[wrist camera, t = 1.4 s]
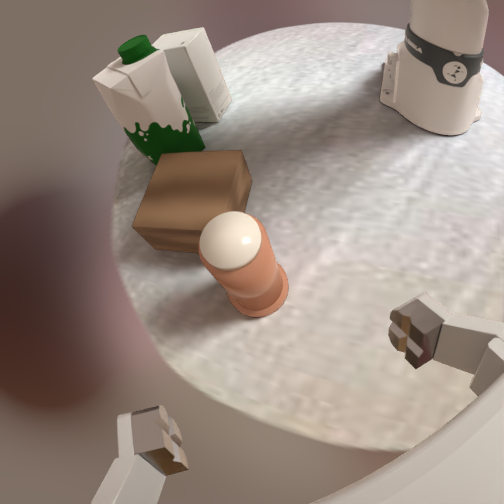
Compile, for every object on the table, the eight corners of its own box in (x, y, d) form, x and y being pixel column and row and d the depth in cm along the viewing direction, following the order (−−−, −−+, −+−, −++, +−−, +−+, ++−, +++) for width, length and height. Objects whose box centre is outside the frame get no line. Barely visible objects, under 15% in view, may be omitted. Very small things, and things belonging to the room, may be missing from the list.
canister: (236, 258, 36) (200, 200, 26) (292, 263, 35) (278, 203, 24) (224, 313, 34) (179, 273, 23) (283, 321, 32) (263, 283, 22)
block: (179, 180, 44) (161, 153, 38) (252, 180, 41) (241, 150, 36) (155, 249, 39) (131, 226, 34) (234, 256, 37) (219, 231, 31)
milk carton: (213, 146, 45) (163, 35, 28) (168, 185, 44) (98, 79, 26) (182, 127, 49) (133, 31, 32) (141, 161, 48) (78, 70, 30)
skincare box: (233, 100, 50) (207, 25, 36) (217, 125, 48) (185, 46, 34) (193, 100, 53) (163, 32, 39) (176, 123, 50) (139, 53, 37)
